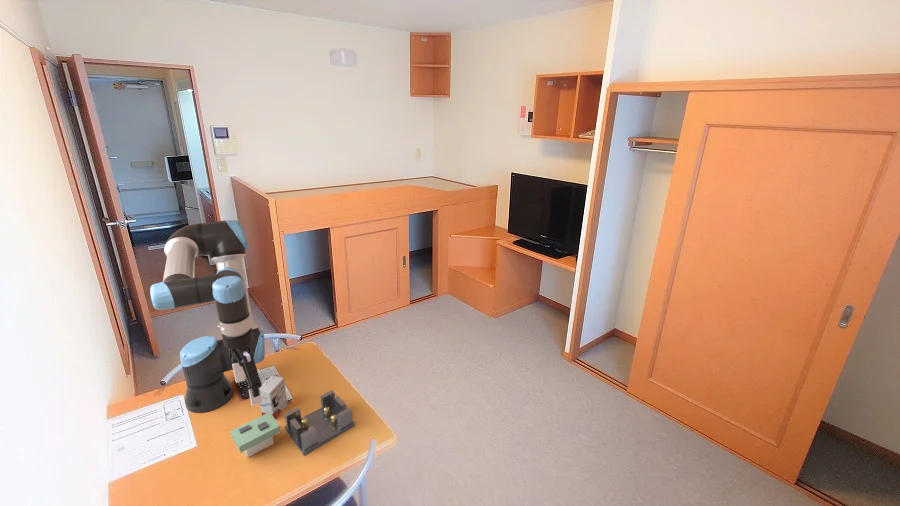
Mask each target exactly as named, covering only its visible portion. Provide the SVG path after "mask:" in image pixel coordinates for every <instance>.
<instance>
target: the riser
mask: <svg viewBox="0 0 900 506" xmlns="http://www.w3.org/2000/svg"><path fill="white" fill-rule="evenodd" d="M274 444H275V442H274V436H272V437H270V438H268V439H266V440H264V441H263V442H261V443H259V444H257V445H255V446H253V447H251V448H249V449H247V450H245V451H243V452H244V454H245V455H246V457H247V458H249V457H251V456H253V455H256V454H258V453H259V452H260V451H263V450H265V449H266V448H268V447H270V446H272V445H274Z"/></svg>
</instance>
